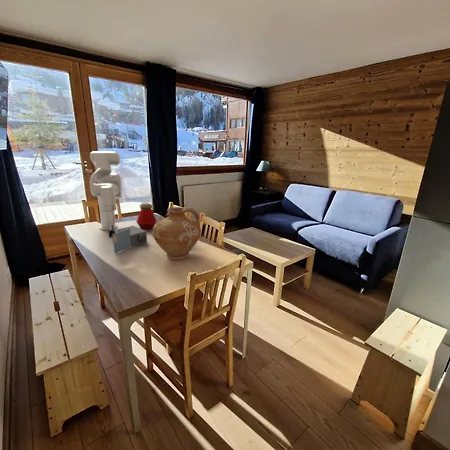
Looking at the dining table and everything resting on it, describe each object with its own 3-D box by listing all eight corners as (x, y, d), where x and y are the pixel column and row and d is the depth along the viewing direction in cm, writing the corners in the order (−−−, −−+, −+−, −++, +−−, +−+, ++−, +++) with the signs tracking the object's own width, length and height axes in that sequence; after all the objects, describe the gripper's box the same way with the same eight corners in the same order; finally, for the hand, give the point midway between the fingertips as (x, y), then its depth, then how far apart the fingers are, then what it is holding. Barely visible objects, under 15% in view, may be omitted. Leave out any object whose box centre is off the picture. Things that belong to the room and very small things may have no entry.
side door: (116, 254, 150) (114, 234, 146) (114, 253, 150) (112, 234, 146) (131, 247, 160) (130, 228, 156) (130, 246, 161) (128, 228, 157)
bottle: (133, 229, 192) (131, 204, 186) (143, 224, 205) (141, 200, 198) (151, 232, 188) (149, 206, 182) (160, 227, 201) (159, 203, 194)
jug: (150, 249, 159) (148, 203, 150) (193, 244, 170) (193, 201, 161) (157, 269, 135) (155, 216, 125) (207, 262, 146) (208, 212, 136)
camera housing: (118, 240, 171) (117, 229, 168) (134, 236, 180) (133, 225, 177) (132, 248, 160) (131, 236, 157) (149, 243, 169) (148, 232, 166)
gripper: (103, 204, 149) (106, 233, 155) (100, 211, 136) (104, 242, 142) (116, 203, 151) (119, 232, 157) (115, 210, 138) (118, 241, 144)
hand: (112, 236), depth 149 cm, fingers closed
